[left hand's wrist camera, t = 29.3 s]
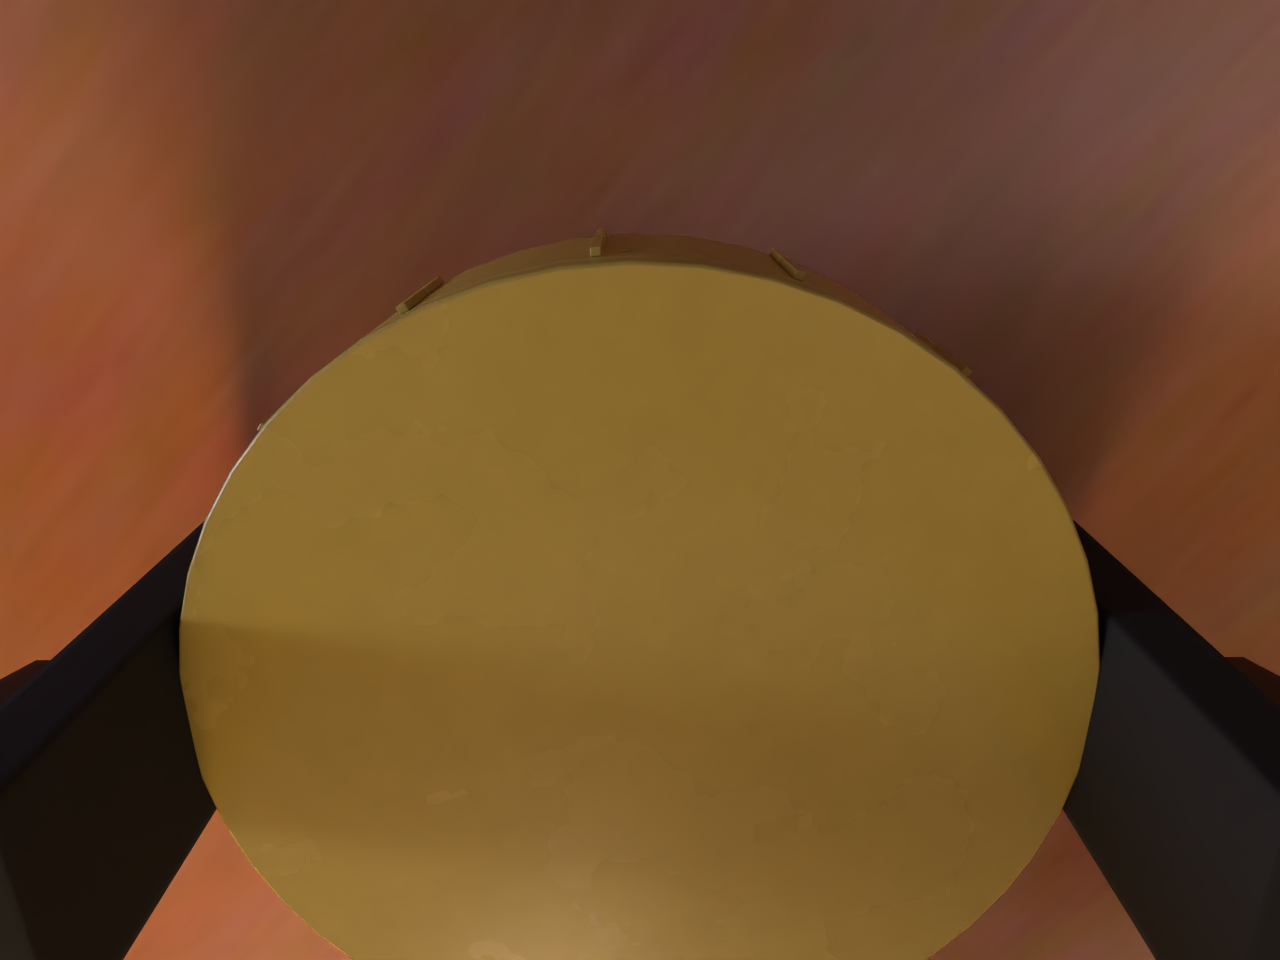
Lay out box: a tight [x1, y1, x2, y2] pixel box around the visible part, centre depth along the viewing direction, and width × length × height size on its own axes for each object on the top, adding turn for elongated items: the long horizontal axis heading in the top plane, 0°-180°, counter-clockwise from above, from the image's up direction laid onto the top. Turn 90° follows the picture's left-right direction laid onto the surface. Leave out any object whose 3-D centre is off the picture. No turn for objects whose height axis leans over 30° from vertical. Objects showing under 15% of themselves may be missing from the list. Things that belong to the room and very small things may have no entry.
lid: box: [179, 228, 1100, 960], centre depth 11 cm, size 10×10×2 cm
